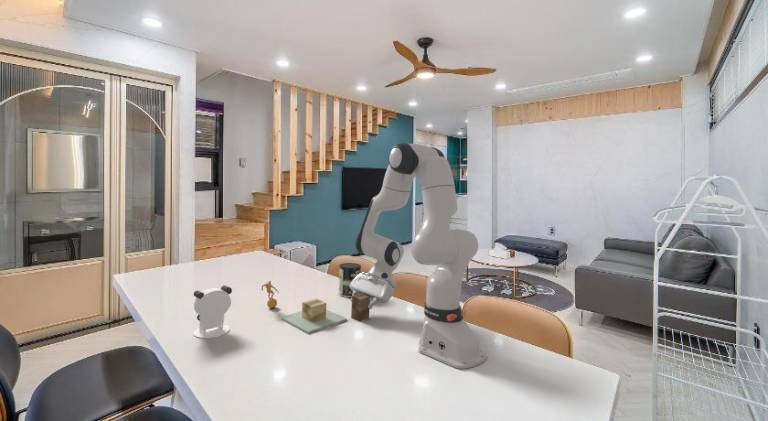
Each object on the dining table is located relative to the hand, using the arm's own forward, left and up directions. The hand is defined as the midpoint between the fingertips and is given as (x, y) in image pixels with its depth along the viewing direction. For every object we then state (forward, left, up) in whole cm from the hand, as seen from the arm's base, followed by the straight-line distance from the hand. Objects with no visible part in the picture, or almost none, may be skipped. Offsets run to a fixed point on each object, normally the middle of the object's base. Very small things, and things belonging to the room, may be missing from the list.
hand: (360, 304), depth 139 cm
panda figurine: (+17, +50, -6) cm, 53 cm away
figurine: (+28, +26, -6) cm, 38 cm away
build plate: (+8, +16, -5) cm, 19 cm away
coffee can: (+28, -12, -6) cm, 31 cm away
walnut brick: (0, 0, -5) cm, 5 cm away
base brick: (+8, +16, -5) cm, 18 cm away
